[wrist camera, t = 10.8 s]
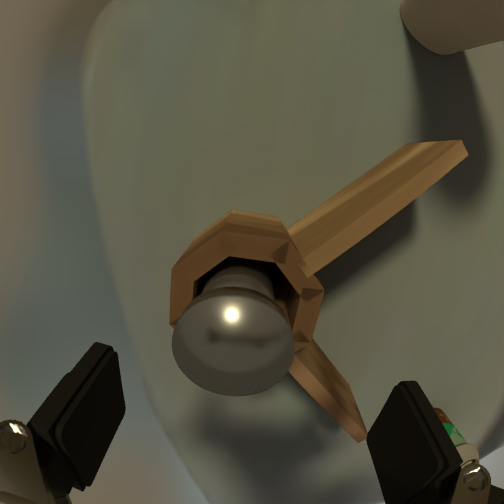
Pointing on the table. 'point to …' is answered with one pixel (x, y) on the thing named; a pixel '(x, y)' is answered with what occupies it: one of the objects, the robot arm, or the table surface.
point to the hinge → (315, 257)
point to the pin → (235, 331)
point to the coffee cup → (454, 23)
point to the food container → (459, 441)
